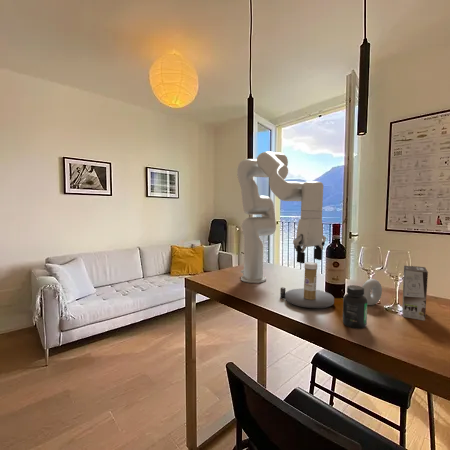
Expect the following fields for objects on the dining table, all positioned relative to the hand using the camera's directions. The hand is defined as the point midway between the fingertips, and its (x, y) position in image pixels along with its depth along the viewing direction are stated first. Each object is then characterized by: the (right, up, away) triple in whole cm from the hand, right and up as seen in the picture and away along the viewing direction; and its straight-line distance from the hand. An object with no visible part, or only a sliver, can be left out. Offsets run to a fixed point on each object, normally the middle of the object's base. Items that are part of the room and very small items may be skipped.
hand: (309, 261), depth 103 cm
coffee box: (+33, -18, -8) cm, 39 cm away
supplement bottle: (+9, -18, -16) cm, 26 cm away
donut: (+23, -17, +1) cm, 29 cm away
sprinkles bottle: (0, -14, +1) cm, 14 cm away
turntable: (+1, -15, +5) cm, 16 cm away
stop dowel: (-8, -16, +9) cm, 20 cm away
